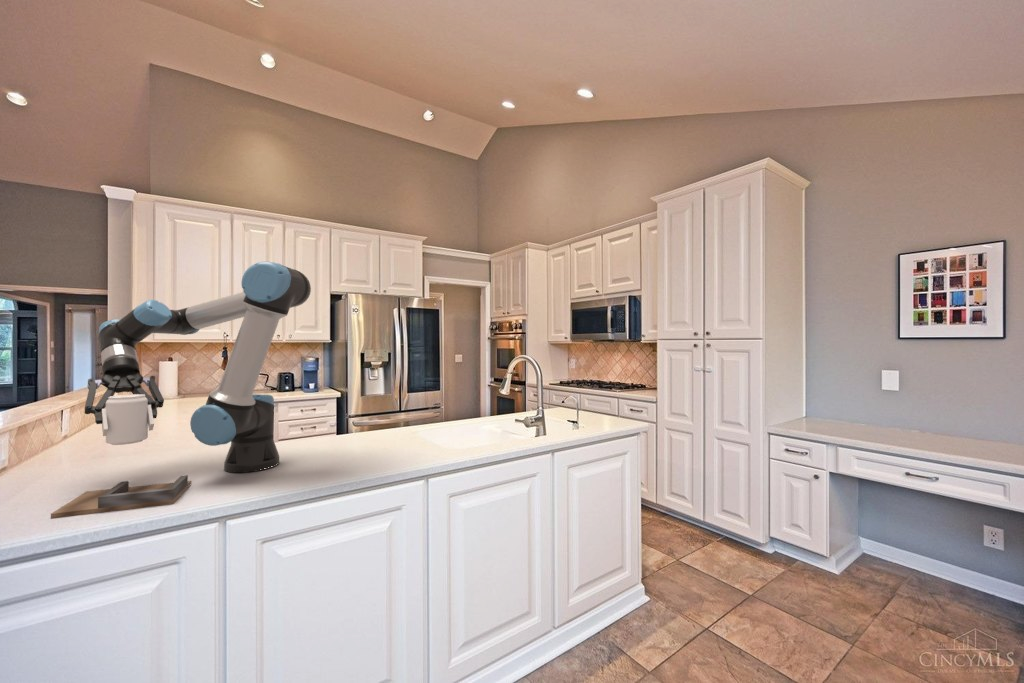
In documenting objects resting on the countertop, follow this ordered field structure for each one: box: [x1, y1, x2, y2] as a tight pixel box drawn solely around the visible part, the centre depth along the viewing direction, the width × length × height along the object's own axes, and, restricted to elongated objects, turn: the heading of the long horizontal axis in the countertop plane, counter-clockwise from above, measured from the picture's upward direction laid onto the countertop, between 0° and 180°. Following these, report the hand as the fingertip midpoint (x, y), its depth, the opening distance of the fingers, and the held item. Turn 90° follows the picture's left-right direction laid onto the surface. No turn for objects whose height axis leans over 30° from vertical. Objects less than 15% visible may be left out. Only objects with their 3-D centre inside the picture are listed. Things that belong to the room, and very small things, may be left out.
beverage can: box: [105, 393, 149, 446], centre depth 111 cm, size 8×8×12 cm
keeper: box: [50, 474, 192, 519], centre depth 107 cm, size 22×16×4 cm
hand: (129, 429), depth 108 cm, fingers closed on beverage can, 8 cm apart
